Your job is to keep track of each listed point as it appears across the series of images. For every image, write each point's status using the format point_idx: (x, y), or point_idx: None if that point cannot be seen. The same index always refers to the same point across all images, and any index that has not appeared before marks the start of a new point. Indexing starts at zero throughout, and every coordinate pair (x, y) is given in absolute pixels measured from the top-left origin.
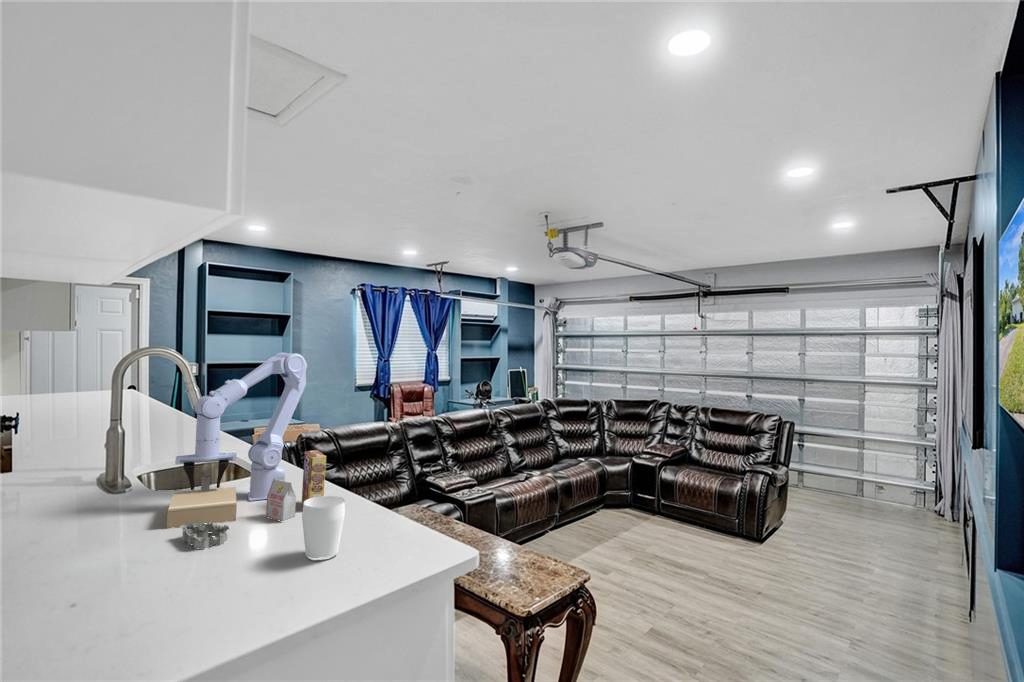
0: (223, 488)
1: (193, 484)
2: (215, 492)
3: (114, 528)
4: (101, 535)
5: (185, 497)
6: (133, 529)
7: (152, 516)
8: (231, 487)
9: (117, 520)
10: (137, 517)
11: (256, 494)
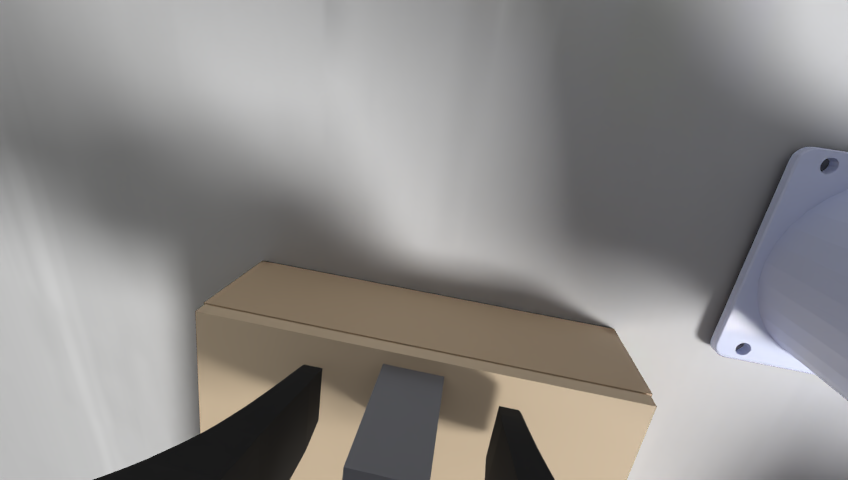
0: (553, 399)
1: (292, 470)
2: (471, 467)
3: (67, 411)
4: (49, 462)
5: None
6: (140, 461)
7: (180, 332)
8: (622, 403)
9: (43, 308)
10: (117, 310)
11: (796, 358)
